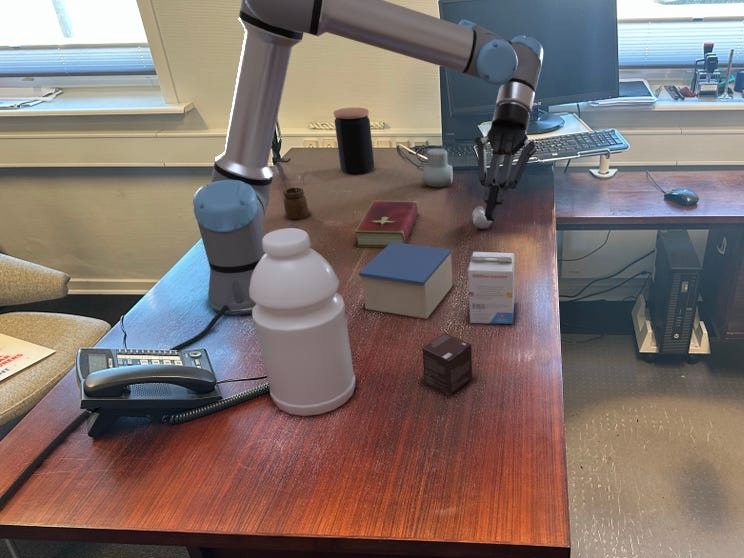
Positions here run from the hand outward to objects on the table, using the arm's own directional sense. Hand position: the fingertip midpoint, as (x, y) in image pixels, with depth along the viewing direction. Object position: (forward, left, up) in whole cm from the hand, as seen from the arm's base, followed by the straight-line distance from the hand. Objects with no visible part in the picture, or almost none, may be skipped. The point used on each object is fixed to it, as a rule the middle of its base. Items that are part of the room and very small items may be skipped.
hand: (489, 218), depth 129 cm
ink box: (-8, -7, -16) cm, 19 cm away
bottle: (-47, +1, -16) cm, 50 cm away
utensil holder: (+2, +67, -16) cm, 69 cm away
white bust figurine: (+27, +23, -16) cm, 39 cm away
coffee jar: (+39, +83, -16) cm, 93 cm away
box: (-31, -15, -16) cm, 38 cm away
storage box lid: (-13, +11, -8) cm, 19 cm away
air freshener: (+44, +53, -16) cm, 71 cm away
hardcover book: (+10, +40, -16) cm, 45 cm away
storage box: (-13, +11, -16) cm, 23 cm away
